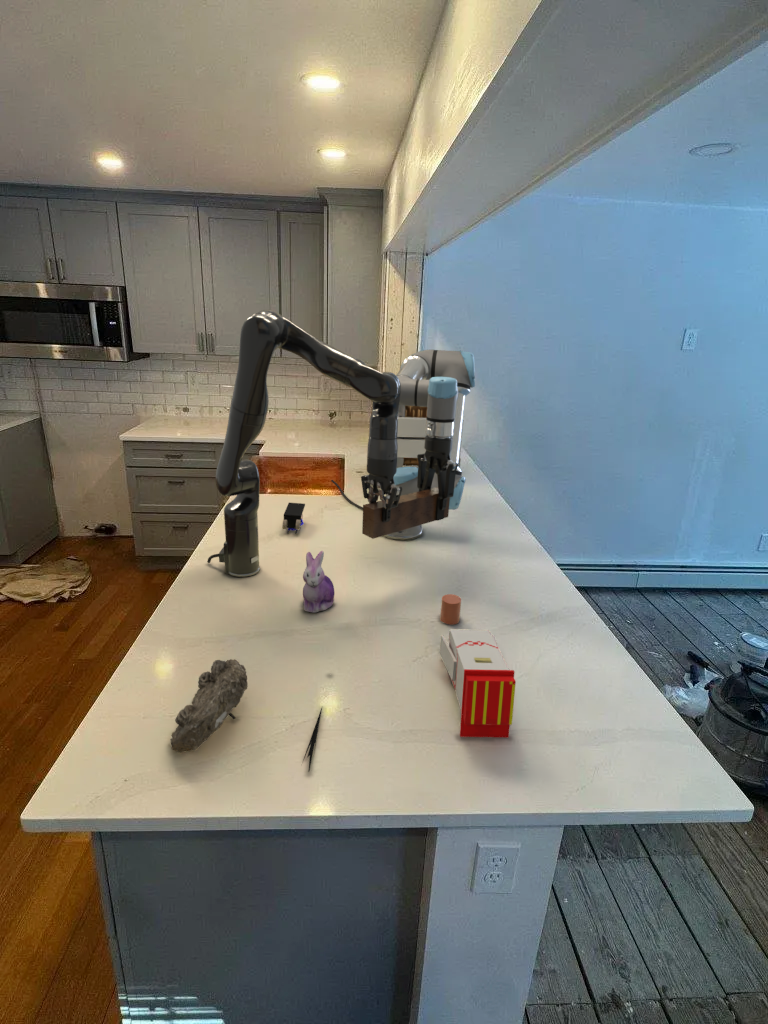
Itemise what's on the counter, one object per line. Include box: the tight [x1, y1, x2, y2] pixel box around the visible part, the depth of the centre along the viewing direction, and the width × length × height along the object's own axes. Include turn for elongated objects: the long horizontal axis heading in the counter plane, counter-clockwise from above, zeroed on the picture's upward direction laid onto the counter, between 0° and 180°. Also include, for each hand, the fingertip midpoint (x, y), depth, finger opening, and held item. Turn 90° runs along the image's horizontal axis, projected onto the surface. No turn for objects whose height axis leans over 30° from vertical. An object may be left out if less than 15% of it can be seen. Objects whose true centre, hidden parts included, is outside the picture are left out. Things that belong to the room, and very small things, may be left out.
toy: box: [438, 628, 517, 738], centre depth 117 cm, size 12×13×30 cm
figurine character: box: [282, 502, 306, 535], centre depth 199 cm, size 7×8×15 cm
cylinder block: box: [439, 593, 462, 626], centre depth 145 cm, size 5×5×6 cm
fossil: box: [170, 658, 249, 753], centre depth 106 cm, size 22×10×15 cm
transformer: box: [397, 405, 464, 469], centre depth 268 cm, size 34×33×41 cm
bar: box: [361, 487, 450, 540], centre depth 154 cm, size 28×4×8 cm, turn 131°
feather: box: [301, 673, 332, 771], centre depth 108 cm, size 2×28×2 cm
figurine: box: [302, 550, 335, 613], centre depth 147 cm, size 9×10×15 cm
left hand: (379, 518), depth 147 cm, fingers closed on bar, 4 cm apart
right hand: (432, 516), depth 161 cm, fingers closed on bar, 4 cm apart
